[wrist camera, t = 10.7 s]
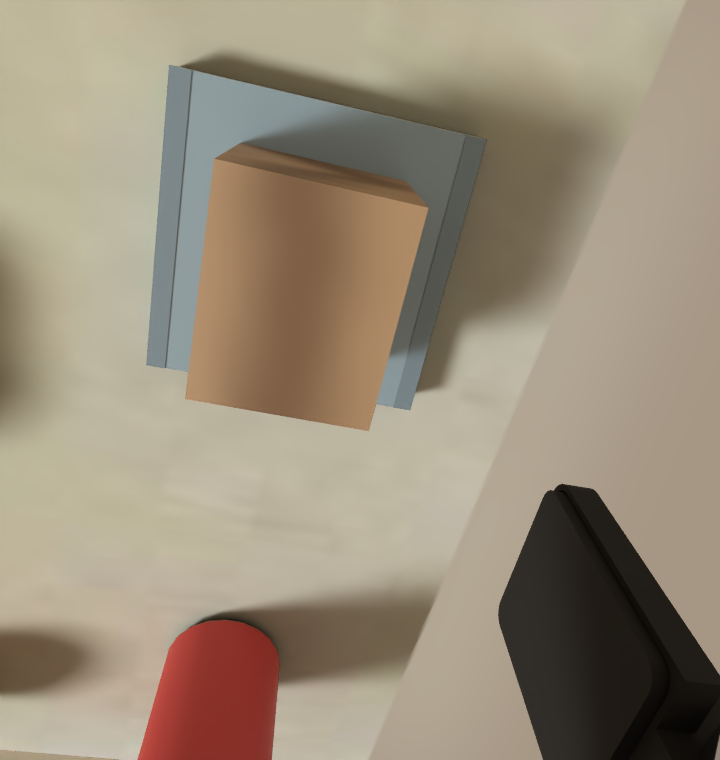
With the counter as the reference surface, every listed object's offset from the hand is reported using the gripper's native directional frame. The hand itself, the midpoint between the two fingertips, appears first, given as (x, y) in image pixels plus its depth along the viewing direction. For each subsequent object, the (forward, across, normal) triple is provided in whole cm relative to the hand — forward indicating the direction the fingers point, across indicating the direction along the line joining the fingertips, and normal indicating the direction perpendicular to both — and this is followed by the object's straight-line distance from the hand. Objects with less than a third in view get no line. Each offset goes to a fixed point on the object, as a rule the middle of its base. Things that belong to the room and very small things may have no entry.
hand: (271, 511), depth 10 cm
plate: (+18, 0, 0) cm, 18 cm away
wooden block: (+16, 0, 0) cm, 17 cm away
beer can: (+18, 0, +25) cm, 31 cm away
